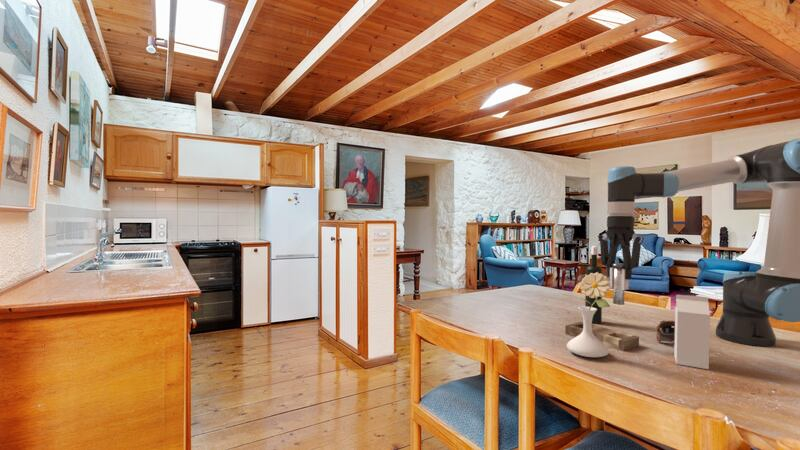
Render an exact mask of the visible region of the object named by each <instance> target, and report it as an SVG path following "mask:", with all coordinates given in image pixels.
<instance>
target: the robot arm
mask: <svg viewBox="0 0 800 450" xmlns="http://www.w3.org/2000/svg"><path fill="white" fill-rule="evenodd" d="M758 182H760V183H761V182H762V183H763V182H764V183H765V182H766V186H767V187H768V188H770V189H771V190H772V196H771V202H770V203H771V205H770V210H769V211H770V213H769V220H768V229H767V235H766V236H767V238H766V246H765V254H764V262H763V267H762V268H760V269H758V270H756V271H727V272H725V273H724V274H723V278H722V279H723V280H722V314H721V316H720V318H719V321H717V325H716V327H715V335H716V336H717V337H718V338H720V339H723V340H725V341H729V342H733V343H738V344H743V345H750V346H759V347H771V346H775V345H777V338H776V335H775V332H774V329H773V327H772V324H771V322H770V318H772V319H773V320H777V321H784V322H787V323H800V138H794V139H791V140H788V141H784V142H779V143H775V144H771V145H770V144H769V145H766V146H764V147H760V148H757V149H754V150H751V151H748V152H744V153H742V154H741V153H740V154H737V155H732V156H730V157H729V158H727V159H725V160H721V161H716V162H715V161H714V162H711V163H705V164H700V165H699V164H698V165H695V166H694V165H693V166H689V167H684V168H680V169H679V168H677V169H674V170H669V171H667V170H666V171H663V172H657V173H655V172H654V173H652V172H650V173H640V172H639V173H637V170H636V168H635V166H629V165H628V166H627V165H624V166H615V167H611V168H610V169H609V171H608V174H607V203H606V204H607V211H606V212H607V213H606V214H607V215H608V216H607V217H606V227H607V229H606V232H605V233H603V234H598V235H597V238H598V240H599V242H600V247H599V248H600V258H601V265H603V266H605V267H606V269H607V270H606V271H607V273H606V274H607V275H606V277H607V278H609V281H610V283H609V284H610V285H611V287H610V289H613V275H614V267H613V266H612V263H616V259H617V254H618V248H619V246H620V248H621V252H622V259H623V264H624V269H622V285H621V290H629V285H630V284H629V280H632V273H633V272H632V270H633V269H635V268H636V269H637V268H639V264H640V256H641V246H642V243H643V242H644V239H645V238H644V236H641V235H640V236H639V235H637V234H636V232H635V230H634V227H635V217H634V216H633V215H634V214H635V201H636V200H640V199H641V200H642V199H650V198H672V197H674V196H676V194H677V193H678V192H684V191H688V190H689V191H690V190H695V189H701V188H706V187H711V186H716V185H717V186H718V185H723V184H729V183H733V184H735V185H736V184H737V185H739V184H745V183H746V184H747V183H758ZM608 240H609V241H608ZM631 241H633V242H632V248H631ZM631 249H632V250H631Z"/></svg>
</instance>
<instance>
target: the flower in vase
mask: <svg viewBox="0 0 800 450" xmlns="http://www.w3.org/2000/svg"><path fill="white" fill-rule="evenodd" d="M579 287H580V290H581V294H583V295H585V296H589V297H590V298H596V300H595V301H594V303H595V302H596V303H597V305H598V306H599V307H602V308H610V307H611V305H610V303H609V302H608V301H607V300H606V299H604V298H603V297H604V296H605V295H606V294H607V292H609V290H610V289H611V288H610V287H611V285H610V277H608V276H607V275H604V274H603V273H602V274H599V273H598V272H596V273H594V274H593V273H590V275H586V274H585V276H584V277H582V278H581V281H580V282H579ZM598 297H602V299H599V300H597V298H598ZM581 300H583V301H584V302H585V301H586V302H588V301H587V300H585V298H584V297H581ZM588 303H589V302H588ZM594 303H593V304H592V305H591V306H590V307H585V306H578V309H579V311H580V312H581V315H582V320H583V321H582V322H583V324H584V326H583V331H582V333H581V334H580V335H578V336H576V337H573V338H571V339H570V340H569V341H568V342H567V343H566V348H567V350H568V351H570V353H573V354H576V355H578V356H582V357H584V358H585V357H586V358H602V357H605V356H607V355H608V354H609V353H610V350H609V347H608V346H605V345H604V344H603V343H602V342H601V341H600V340H599V339H597V338H596V337H595V336H594V334H593V333H592V325H593V324H592V319H593V315H594V313H595V312H596V311H597V309H596V308H593V307H592V306H593V305H594Z"/></svg>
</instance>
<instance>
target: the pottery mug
mask: <svg viewBox="0 0 800 450" xmlns="http://www.w3.org/2000/svg"><path fill="white" fill-rule="evenodd" d="M656 341H657V342H658V343H661V342H667V343H668V342H669V343H670V342H671V343H672V342H675V320H661V321H659V323H658V325H657V326H656Z"/></svg>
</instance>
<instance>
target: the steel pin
mask: <svg viewBox="0 0 800 450" xmlns="http://www.w3.org/2000/svg"><path fill="white" fill-rule="evenodd" d="M612 266H613V267H614V275H613V288H612V304H614V305H619V306H621V305H622V306H624V305H625V295H626V294H625V290H621V285H622V269H624V263H622V262H621V263H620V262H617V263H616V262H615V263H612Z"/></svg>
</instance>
